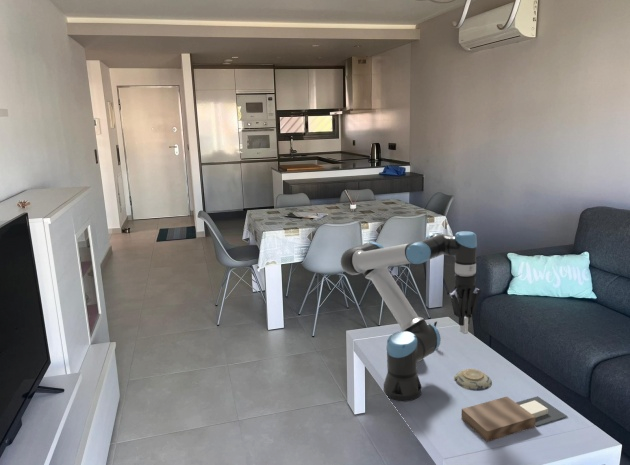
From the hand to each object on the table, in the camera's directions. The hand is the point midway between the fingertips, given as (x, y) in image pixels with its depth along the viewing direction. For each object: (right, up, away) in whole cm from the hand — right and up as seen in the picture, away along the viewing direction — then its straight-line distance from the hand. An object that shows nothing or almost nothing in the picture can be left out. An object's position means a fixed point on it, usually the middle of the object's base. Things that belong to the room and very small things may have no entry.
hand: (463, 332), depth 182 cm
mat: (+24, -27, -7) cm, 37 cm away
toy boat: (-1, -16, +51) cm, 54 cm away
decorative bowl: (+8, -24, +15) cm, 30 cm away
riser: (+8, -29, -13) cm, 33 cm away
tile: (+22, -27, -8) cm, 36 cm away
